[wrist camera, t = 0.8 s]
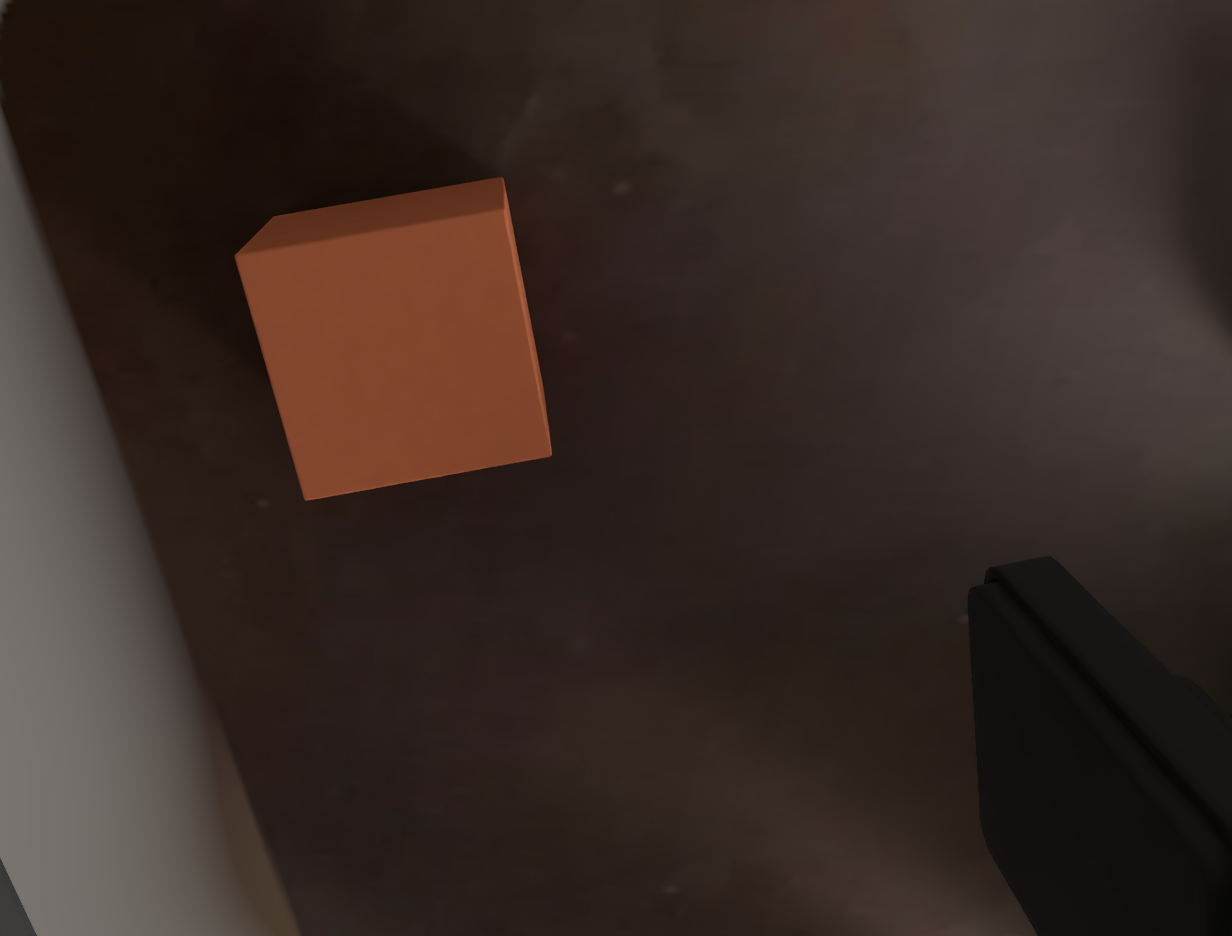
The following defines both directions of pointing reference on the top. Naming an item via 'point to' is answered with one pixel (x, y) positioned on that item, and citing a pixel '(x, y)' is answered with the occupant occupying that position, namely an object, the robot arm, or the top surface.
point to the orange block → (398, 338)
